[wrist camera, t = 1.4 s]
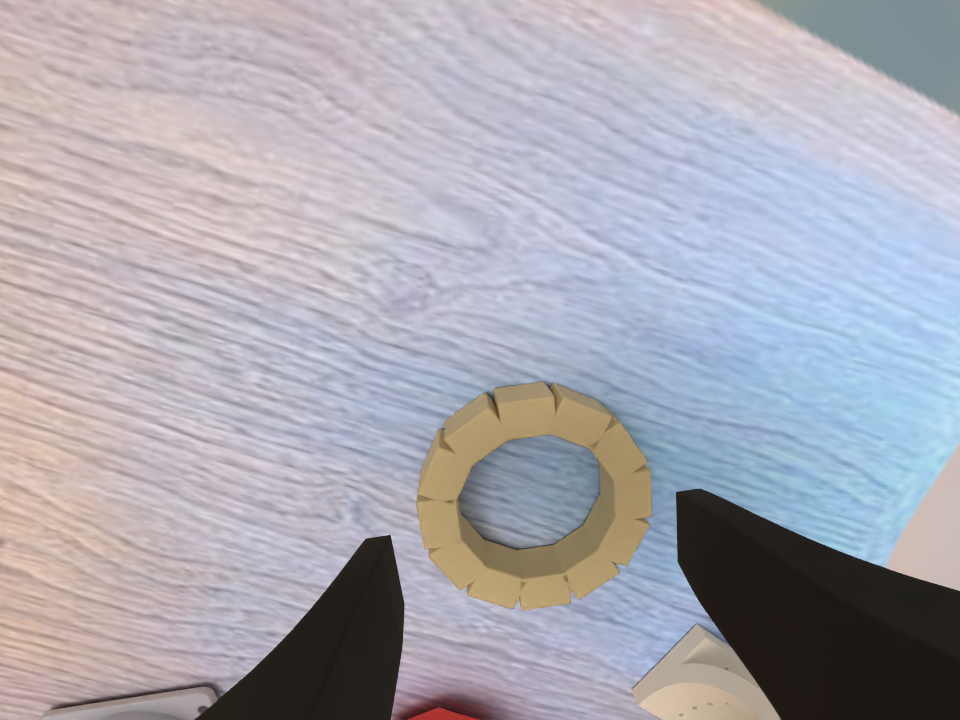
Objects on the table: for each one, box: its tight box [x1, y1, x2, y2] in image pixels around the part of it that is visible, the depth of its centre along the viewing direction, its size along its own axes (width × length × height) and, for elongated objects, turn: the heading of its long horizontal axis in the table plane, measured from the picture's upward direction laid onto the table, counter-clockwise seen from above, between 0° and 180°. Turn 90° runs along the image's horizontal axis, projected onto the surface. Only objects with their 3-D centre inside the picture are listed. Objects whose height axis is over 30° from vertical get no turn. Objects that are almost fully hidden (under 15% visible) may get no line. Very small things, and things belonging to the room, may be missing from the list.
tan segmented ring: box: [416, 382, 652, 610], centre depth 20 cm, size 10×10×2 cm
